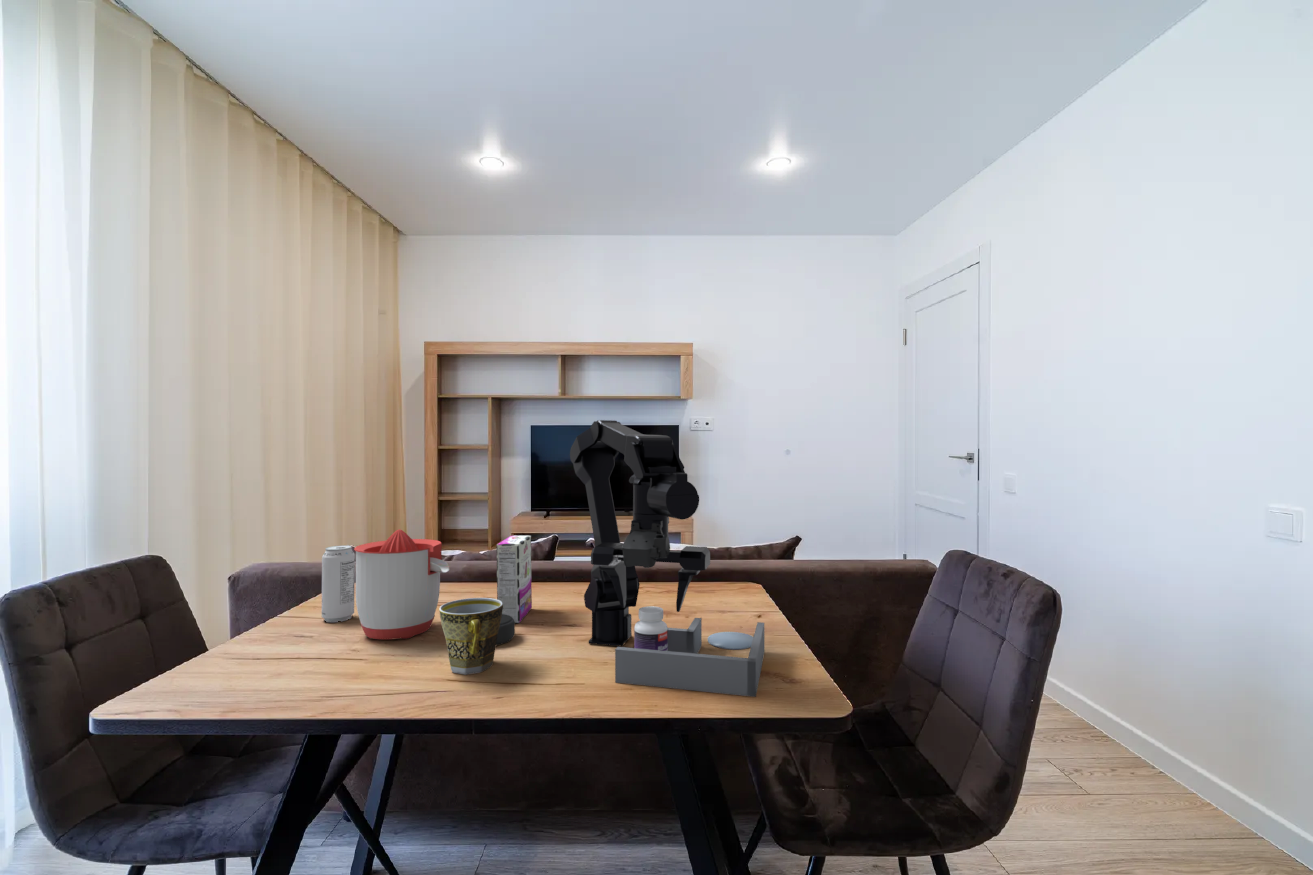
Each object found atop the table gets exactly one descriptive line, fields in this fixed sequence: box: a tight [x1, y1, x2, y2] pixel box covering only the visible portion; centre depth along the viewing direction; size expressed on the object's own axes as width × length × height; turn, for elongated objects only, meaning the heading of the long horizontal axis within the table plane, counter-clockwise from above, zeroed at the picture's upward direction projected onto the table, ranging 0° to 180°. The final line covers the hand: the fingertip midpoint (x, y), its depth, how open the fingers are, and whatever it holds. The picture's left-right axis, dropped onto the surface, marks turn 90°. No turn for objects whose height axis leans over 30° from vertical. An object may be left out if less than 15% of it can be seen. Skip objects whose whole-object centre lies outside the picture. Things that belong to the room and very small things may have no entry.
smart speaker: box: [496, 614, 516, 646], centre depth 108 cm, size 9×9×4 cm
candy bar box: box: [496, 534, 533, 624], centre depth 123 cm, size 11×5×16 cm, turn 179°
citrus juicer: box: [353, 528, 450, 640], centre depth 113 cm, size 16×17×20 cm
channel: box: [614, 617, 766, 698], centre depth 95 cm, size 21×19×5 cm
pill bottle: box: [633, 605, 668, 651], centre depth 93 cm, size 5×5×10 cm
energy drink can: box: [321, 545, 356, 623], centre depth 121 cm, size 6×6×15 cm
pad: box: [707, 631, 754, 651], centre depth 107 cm, size 9×9×1 cm
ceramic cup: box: [438, 597, 503, 676], centre depth 93 cm, size 13×10×10 cm
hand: (650, 609), depth 93 cm, fingers open, 9 cm apart
